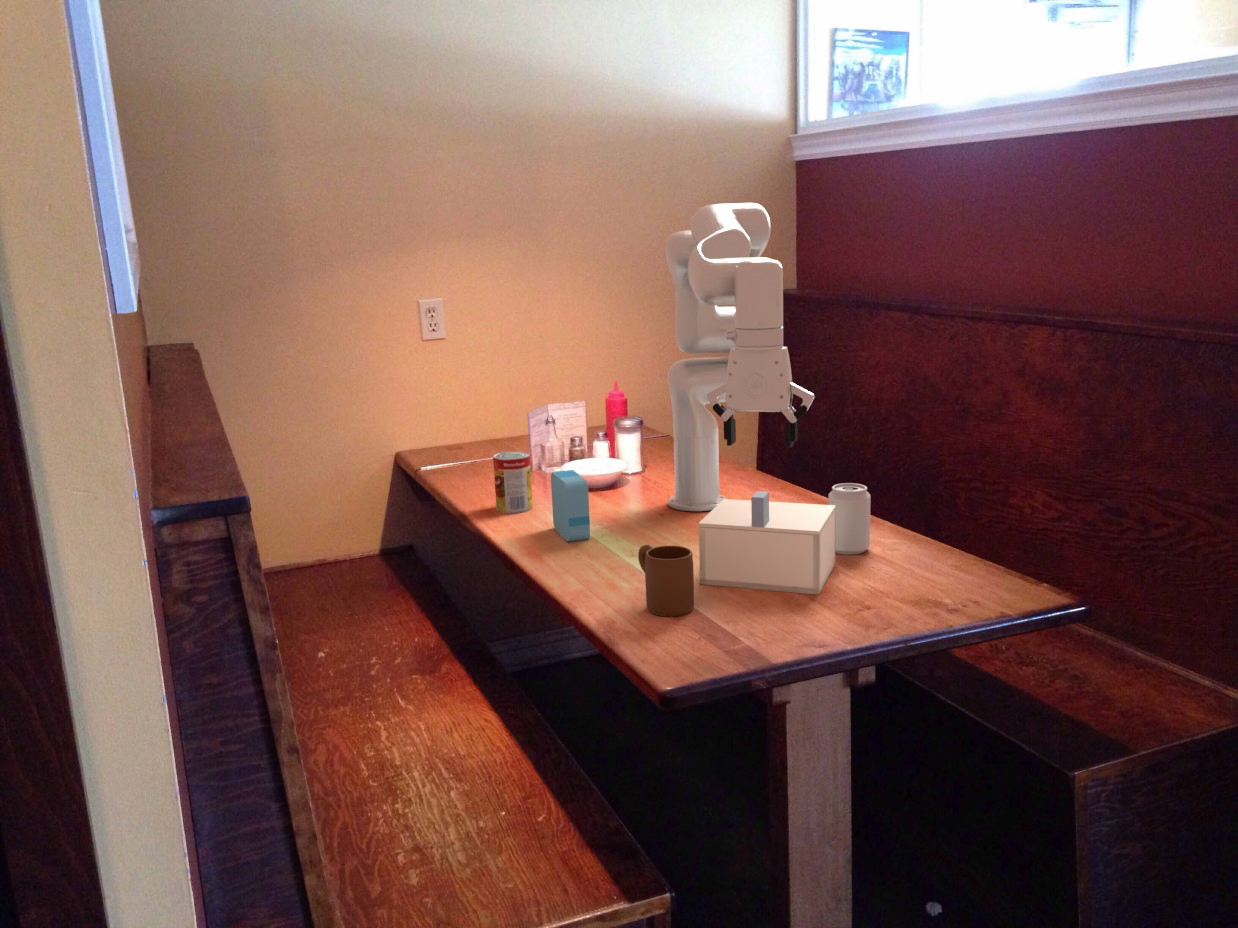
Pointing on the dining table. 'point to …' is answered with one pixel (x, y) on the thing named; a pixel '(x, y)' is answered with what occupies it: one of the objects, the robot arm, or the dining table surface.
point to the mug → (668, 579)
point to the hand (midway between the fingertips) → (760, 445)
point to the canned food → (513, 482)
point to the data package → (570, 505)
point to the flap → (768, 515)
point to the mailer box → (767, 558)
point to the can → (851, 517)
